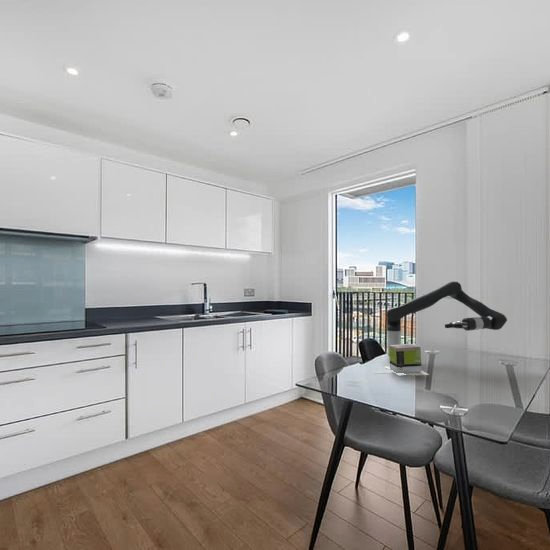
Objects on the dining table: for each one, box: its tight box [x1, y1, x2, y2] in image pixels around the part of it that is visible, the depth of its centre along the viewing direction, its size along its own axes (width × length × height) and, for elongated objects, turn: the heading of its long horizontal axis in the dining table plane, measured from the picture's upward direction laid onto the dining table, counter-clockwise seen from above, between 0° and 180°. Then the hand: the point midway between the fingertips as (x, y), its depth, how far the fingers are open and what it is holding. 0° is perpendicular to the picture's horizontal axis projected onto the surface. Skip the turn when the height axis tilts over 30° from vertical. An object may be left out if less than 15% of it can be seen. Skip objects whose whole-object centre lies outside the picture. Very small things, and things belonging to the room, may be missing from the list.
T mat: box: [384, 365, 430, 377], centre depth 195 cm, size 20×30×1 cm, turn 96°
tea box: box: [388, 343, 423, 373], centre depth 195 cm, size 15×10×15 cm, turn 95°
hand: (445, 326), depth 199 cm, fingers closed
